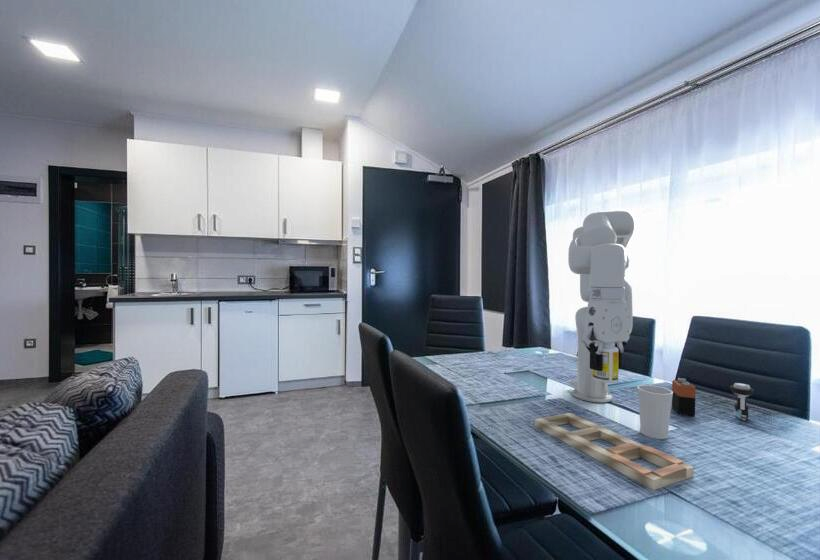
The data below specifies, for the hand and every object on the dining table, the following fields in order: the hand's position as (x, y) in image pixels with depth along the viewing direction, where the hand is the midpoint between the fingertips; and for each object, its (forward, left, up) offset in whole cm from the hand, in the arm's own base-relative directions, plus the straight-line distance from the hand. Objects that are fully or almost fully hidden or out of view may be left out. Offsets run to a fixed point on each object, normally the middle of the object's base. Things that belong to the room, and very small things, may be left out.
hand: (605, 368), depth 89 cm
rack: (0, 0, -20) cm, 20 cm away
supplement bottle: (0, 0, -3) cm, 3 cm away
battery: (-8, +45, -20) cm, 50 cm away
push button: (+2, +56, -20) cm, 60 cm away
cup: (-1, +20, -20) cm, 28 cm away
